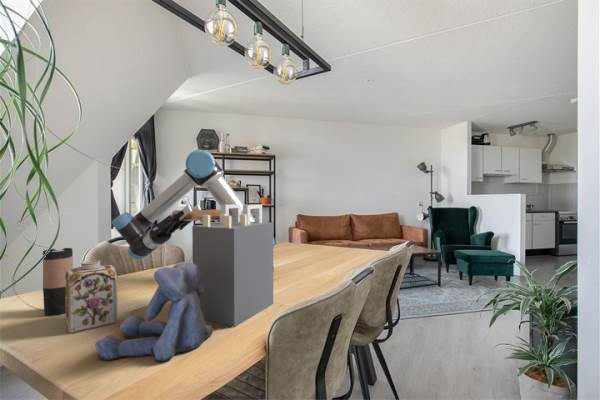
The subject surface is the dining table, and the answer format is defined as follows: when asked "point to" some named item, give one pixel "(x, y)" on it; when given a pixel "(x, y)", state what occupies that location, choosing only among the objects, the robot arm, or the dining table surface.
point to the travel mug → (55, 280)
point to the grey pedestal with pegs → (234, 265)
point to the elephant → (160, 335)
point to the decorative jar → (90, 296)
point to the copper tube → (198, 215)
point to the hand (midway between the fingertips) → (194, 207)
